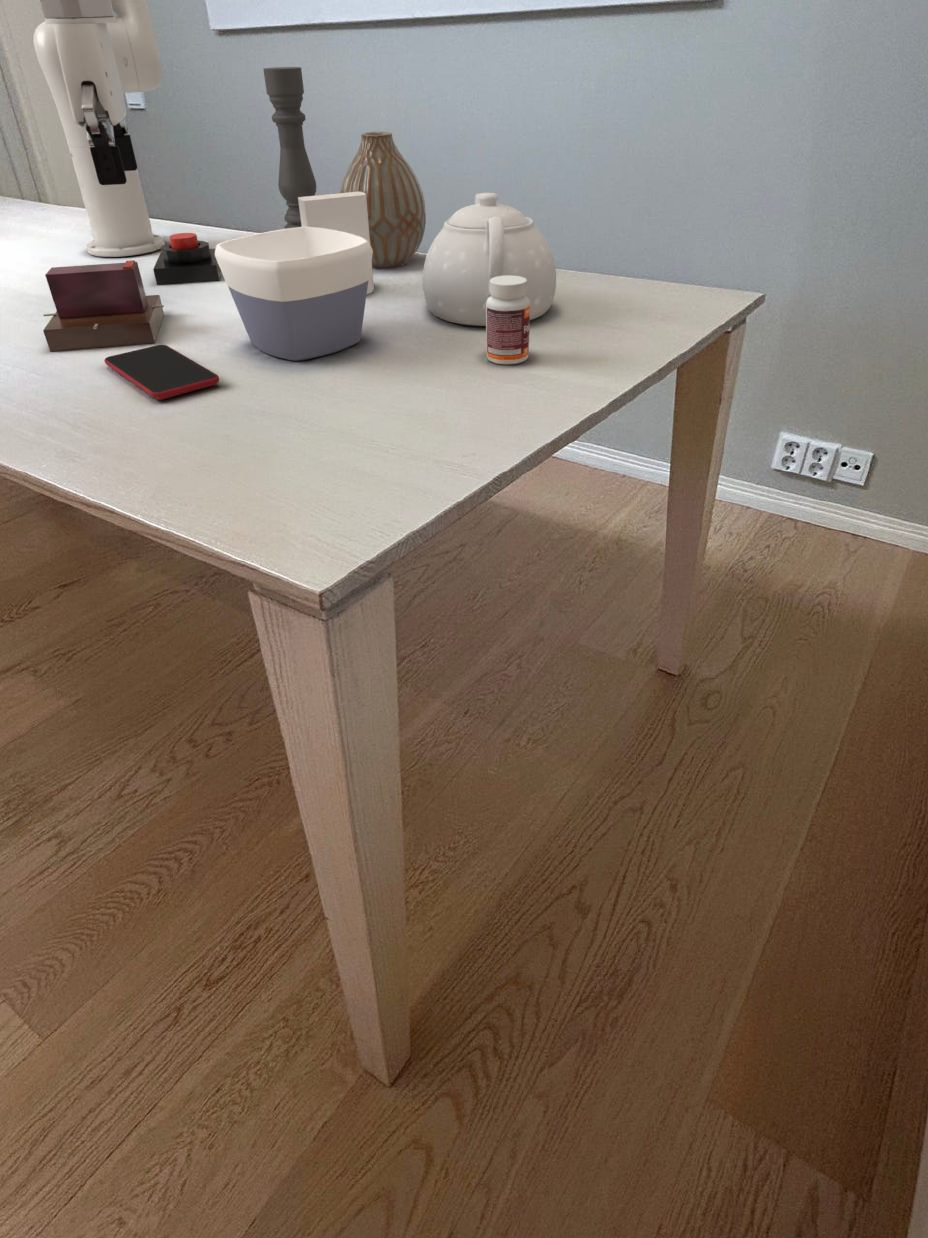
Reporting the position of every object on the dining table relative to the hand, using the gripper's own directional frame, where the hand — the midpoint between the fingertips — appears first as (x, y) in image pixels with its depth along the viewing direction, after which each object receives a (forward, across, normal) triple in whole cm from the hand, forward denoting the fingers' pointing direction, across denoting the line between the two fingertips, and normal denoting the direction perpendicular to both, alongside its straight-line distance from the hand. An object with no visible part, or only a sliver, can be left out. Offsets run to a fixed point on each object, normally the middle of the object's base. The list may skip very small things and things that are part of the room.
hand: (119, 176), depth 101 cm
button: (+12, -14, +4) cm, 19 cm away
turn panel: (+15, +13, -3) cm, 20 cm away
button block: (+16, -14, +4) cm, 21 cm away
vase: (+16, -13, +34) cm, 40 cm away
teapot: (+15, +16, +45) cm, 50 cm away
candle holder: (+16, -26, +22) cm, 38 cm away
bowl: (+15, +24, +21) cm, 35 cm away
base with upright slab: (+15, +2, +26) cm, 31 cm away
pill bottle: (+15, +34, +43) cm, 57 cm away
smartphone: (+15, +31, +5) cm, 35 cm away
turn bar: (+13, +13, -3) cm, 18 cm away
